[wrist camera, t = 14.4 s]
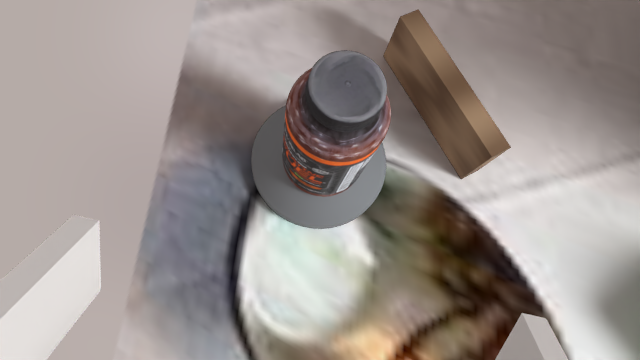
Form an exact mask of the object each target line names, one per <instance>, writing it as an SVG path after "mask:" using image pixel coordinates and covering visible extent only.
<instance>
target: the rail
mask: <svg viewBox="0 0 640 360" xmlns="http://www.w3.org/2000/svg"><path fill="white" fill-rule="evenodd" d="M384 58H385V59H386V61H387V63H388V64H389V66H390V67H391V69H392V70H393V72H394V74H395V75H396V77H397V78H398V80H399V82H400V83H401V85H402V86H403V88H404V90H405V91H406V93H407V94H408V96H409V97H410V99H411V101H412V102H413V104H414V105H415V107H416V109H417V110H418V112H419V113H420V115H421V117H422V118H423V120H424V121H425V123H426V124H427V126H428V128H429V129H430V131H431V132H432V134H433V136H434V137H435V139H436V140H437V142H438V143H439V145H440V147H441V148H442V150H443V151H444V153H445V155H446V156H447V158H448V159H449V161H450V163H451V164H452V166H453V167H454V169H455V170H456V172H457V174H458V175H459V177H460V178H461V179H463V178H464V177H466V176H468V175H470V174H472V173H474V172H476V171H478V170H479V169H480V168H482V167H483V166H485V165H486V164H488V163H489V162H490V161H492V160H493V159H495V158H496V157H498V156H499V155H500V154H502V153H503V152H505V151H506V150H508V149H509V148H511V147H510V145H509V144H508V142H507V141H506V139H505V138H504V136H503V135H502V133H501V132H500V130H499V129H498V127H497V126H496V124H495V123H494V121H493V120H492V118H491V117H490V115H489V114H488V112H487V111H486V109H485V108H484V106H483V105H482V103H481V102H480V100H479V99H478V98H477V96H476V95H475V93H474V92H473V90H472V89H471V87H470V86H469V84H468V83H467V81H466V80H465V78H464V77H463V75H462V74H461V72H460V71H459V69H458V68H457V66H456V65H455V63H454V62H453V60H452V59H451V57H450V56H449V54H448V53H447V51H446V50H445V48H444V47H443V45H442V44H441V42H440V41H439V39H438V38H437V36H436V35H435V33H434V32H433V30H432V29H431V27H430V26H429V25H428V23H427V22H426V20H425V19H424V17H423V16H422V14H421V13H420V11H419V10H416V11H413V12H411V13H408V14H406V15H403V16H401V17H400V18H399V21H398V23H397V25H396V28H395V30H394V32H393V35H392V37H391V39H390V42H389V44H388V46H387V49H386V51H385V53H384Z"/></svg>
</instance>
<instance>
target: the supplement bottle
mask: <svg viewBox="0 0 640 360" xmlns="http://www.w3.org/2000/svg"><path fill="white" fill-rule="evenodd" d="M390 120H391V107H390V102H389V98H388V96H387V83H386V80H385V77H384V74H383V72H382V70H381V69H380V68H379V66H378V65H377V64H376V63H375V62H374V61H373V60H372V59H370V58H368V57H367V56H365V55H363V54H361V53H358V52H353V51H347V50H344V51H336V52H332V53H329V54H327V55H325V56H323V57H322V58H321V59H319V60H318V61H317V62H316V64H315V65H314V66H313V68H311V69H309V70H308V71H306V72H305V73H304V74H303V75H301V76H300V78H298V80H297V81H296V82H295V84H294V85H293V87H292V89H291V91H290V93H289V96H288V99H287V103H286V111H285V122H284V136H283V148H282V160H283V166H284V169H285V172H286V173H287V175H288V177H289V179H290V180H291V181H292V183H294V185H295V186H296V187H298V188H299V189H301V190H302V191H304V192H306V193H308V194H311V195H315V196H322V197H327V196H333V195H336V194H339V193H342V192H343V191H345V190H347V189H348V188H349V187H351V186H352V185H353V184H354V182H355V181H356V180H357V179H358V178H359V176H360V174H361V173H362V171H363V170H364V168H365V167H366V165H367V164H368V162H369V161H370V159H371V158H372V156H373V154H374V153H375V152H376V150H377V149H378V147H379V146H380V144H381V142H382V141H383V139H384V138H385V135H386V133H387V131H388V128H389V125H390Z"/></svg>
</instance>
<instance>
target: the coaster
mask: <svg viewBox="0 0 640 360" xmlns="http://www.w3.org/2000/svg"><path fill="white" fill-rule="evenodd" d="M285 111H286V106H284V107H282V108H281V109H279V110H277V111H276V112H275V113H274V114H272V115H271V116H270V117H269V118H268V119H267V120H266V121H265V123H264V124H263V125H262V127H261V128H260V130H259V132H258V134H257V136H256V138H255V141H254V144H253V149H252V156H251V164H252V173H253V178H254V182H255V184H256V187H257V189H258V191H259V193H260V195H261V197H262V198H263V200H264V201H265V202H266V204H267V205H268V206H269V207H270V208H271V209H272V210H273V211H274V212H275V213H277V214H278V215H279V216H281V217H282V218H284V219H286V220H287V221H289V222H292V223H294V224H296V225H300V226H303V227H308V228H318V229H324V228H332V227H337V226H341V225H343V224H346V223H348V222H350V221H352V220H354V219H356V218H357V217H358V216H360V215H361V214H362V213H364V212H365V211H366V210H367V209H368V208H369V207H370V205H371V204H372V203H373V202H374V200H375V199H376V198H377V196H378V194H379V192H380V191H381V188H382V186H383V183H384V179H385V175H386V156H385V150H384V147H383V144H382V142H381V144H380V146H379V147H378V149H377V150H376V152H375V153H374V154H373V156H372V158H371V159H370V161H369V162H368V164H367V165H366V167H365V168H364V170H363V171H362V173H361V174H360V176H359V178H358V179H357V180H356V181H355V182H354V184H353V185H352V186H351V187H349V188H348V189H347V190H345V191H343V192H342V193H339V194H336V195H333V196H327V197H322V196H315V195H311V194H308V193H306V192H304V191H302V190H301V189H299V188H298V187H296V186H295V185H294V183H292V181H291V180H290V179H289V177H288V175H287V173H286V172H285V169H284V166H283V160H282V148H283V136H284V122H285Z"/></svg>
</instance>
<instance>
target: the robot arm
mask: <svg viewBox="0 0 640 360" xmlns="http://www.w3.org/2000/svg"><path fill="white" fill-rule="evenodd" d="M100 290H101V275H100V230H99V220H96V219H91V218H87V217H82V216H78V215H73V216H72V217H71V218H70V219H68V220H67V221H66V222H65V223H64V224H63V225H62V226H60V227H59V228H58V229H57V230H56V231H55V232H54V233H53V234H51V235H50V236H49V237H48V238H47V239H46V240H45V241H44V242H42V243H41V244H40V245H39V246H38V247H37V248H36V249H35V250H33V252H31V253H30V254H29V255H28V256H27V257H26V258H24V259H23V260H22V261H21V262H20V263H19V264H18V265H17V266H16V267H15V268H13V269H12V270H11V271H10V272H9V273H8V274H6V275H5V276H4V277H3V278H2V279H1V280H0V360H46V359H47V358H48V357H49V356H50V354H51V353H52V352H53V351H54V349H55V348H56V347H57V345H58V344H59V343H60V342H61V340H62V339H63V338H64V336H65V335H66V334H67V333H68V331H69V330H70V329H71V328H72V326H73V325H74V324H75V322H76V321H77V320H78V319H79V317H80V316H81V315H82V313H83V312H84V311H85V310H86V308H87V307H88V306H89V304H90V303H91V302H92V301H93V299H94V298H95V297H96V296H97V294H98V293H99V292H100ZM495 360H568V358H567V357H566V355H565V353H564V351H563V349H562V347H561V345H560V344H559V342H558V340H557V338H556V336H555V334H554V332H553V331H552V329H551V327H550V325H549V323H548V321H547V319H546V318H542V317H537V316H533V315H528V314H524V313H522V314H521V316H520V318H519V319H518V321H517V323H516V325H515V326H514V328H513V330H512V331H511V333H510V335H509V337H508V338H507V340H506V342H505V344H504V345H503V347H502V349H501V351H500V352H499V354H498V356H497V358H496V359H495Z"/></svg>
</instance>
